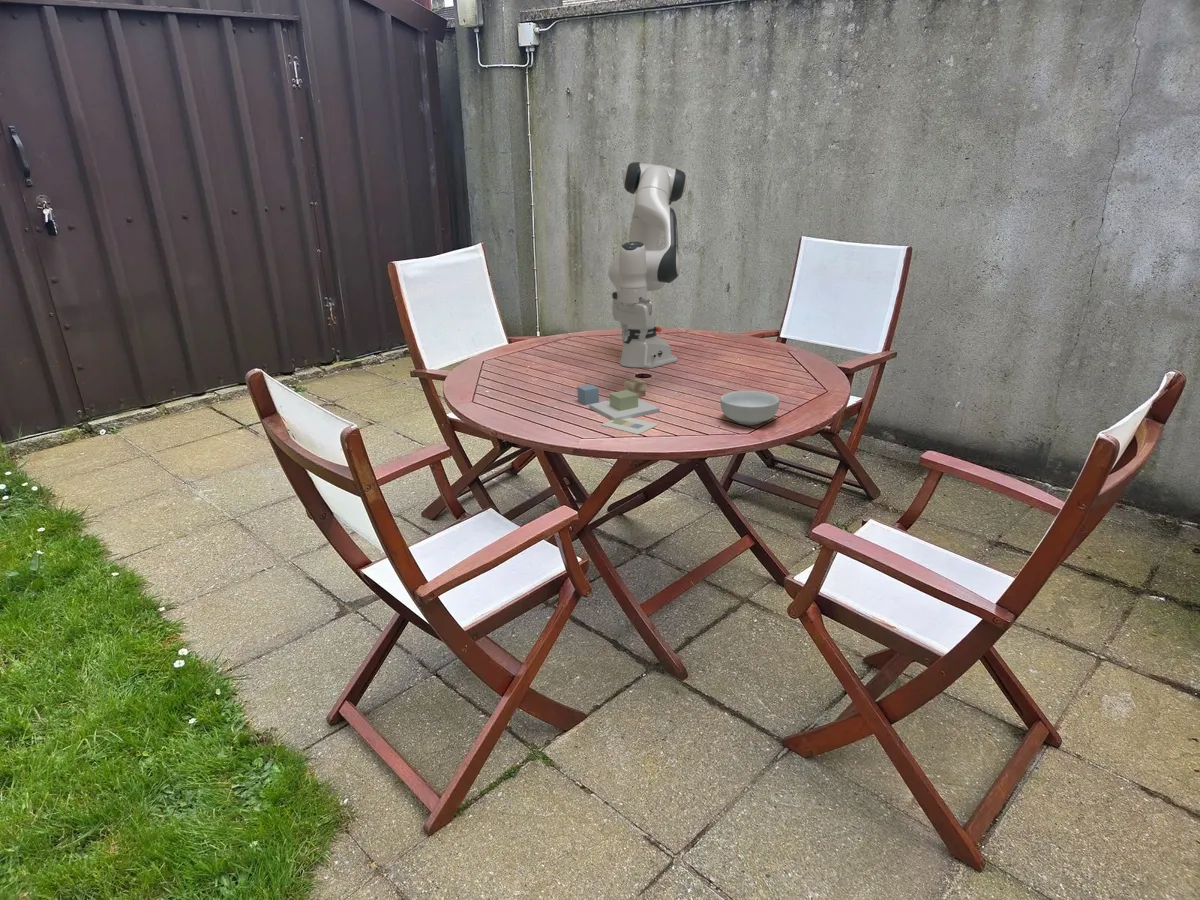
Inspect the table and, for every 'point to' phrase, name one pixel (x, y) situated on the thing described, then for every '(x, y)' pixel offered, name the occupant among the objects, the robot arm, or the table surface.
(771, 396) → the cereal bowl
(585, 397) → the slate blue block
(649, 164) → the robot arm
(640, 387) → the beech block
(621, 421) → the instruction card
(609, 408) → the build plate
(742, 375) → the table surface
